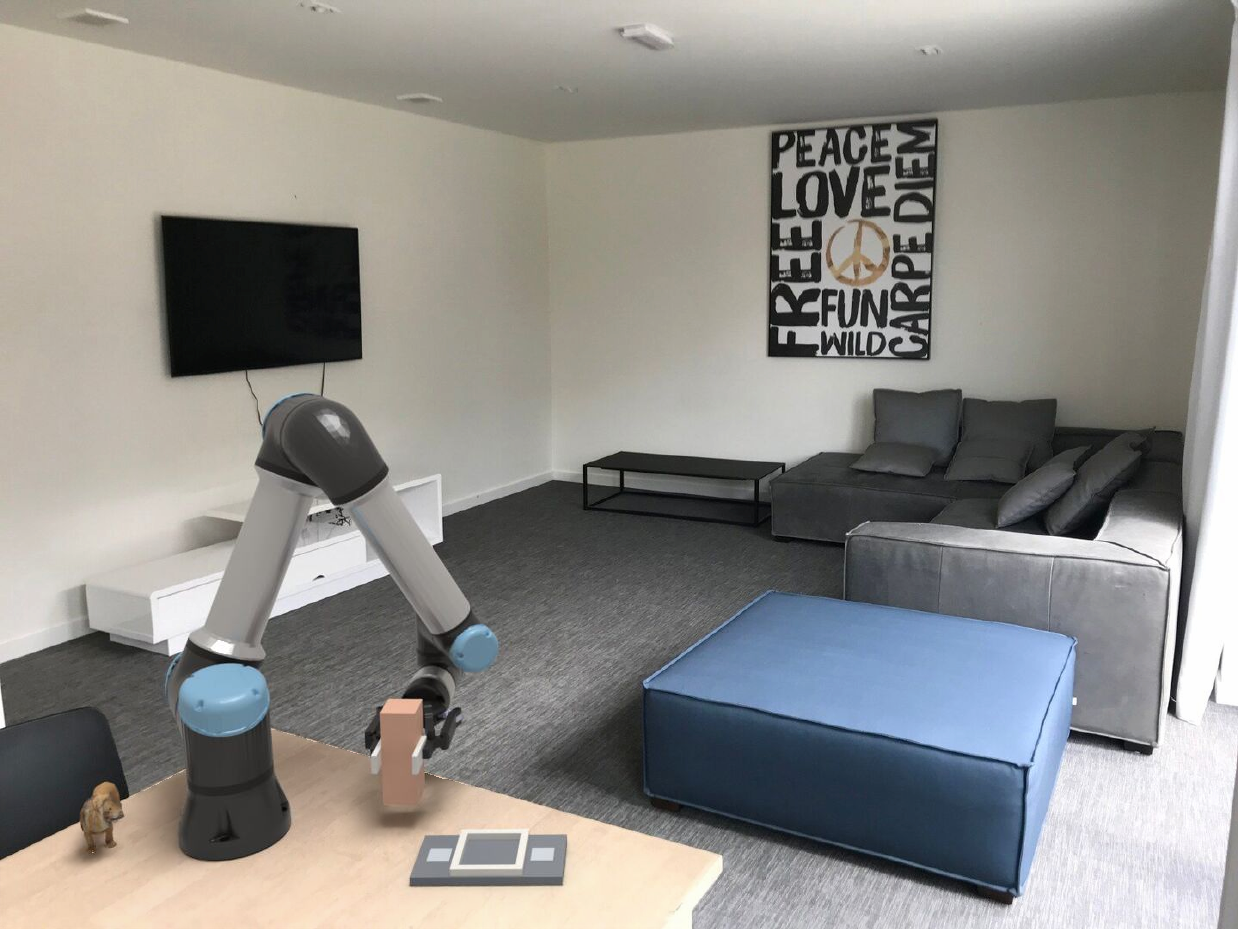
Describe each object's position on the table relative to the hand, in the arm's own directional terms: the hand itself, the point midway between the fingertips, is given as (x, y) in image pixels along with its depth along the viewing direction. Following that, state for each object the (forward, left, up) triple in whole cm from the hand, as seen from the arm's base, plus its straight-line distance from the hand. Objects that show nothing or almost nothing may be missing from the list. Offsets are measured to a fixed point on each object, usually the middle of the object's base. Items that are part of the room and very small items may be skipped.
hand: (394, 765), depth 138 cm
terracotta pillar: (-3, +4, -8) cm, 9 cm away
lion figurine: (-35, -23, -12) cm, 44 cm away
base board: (+15, +3, -11) cm, 19 cm away
